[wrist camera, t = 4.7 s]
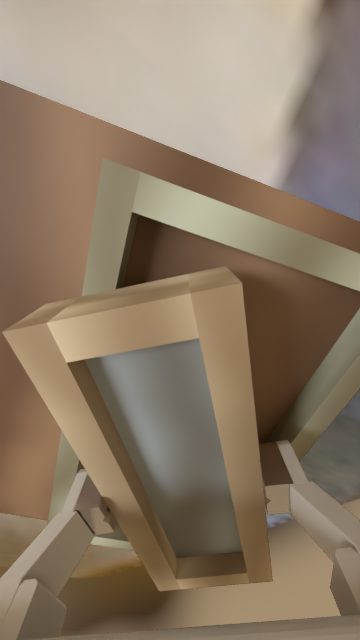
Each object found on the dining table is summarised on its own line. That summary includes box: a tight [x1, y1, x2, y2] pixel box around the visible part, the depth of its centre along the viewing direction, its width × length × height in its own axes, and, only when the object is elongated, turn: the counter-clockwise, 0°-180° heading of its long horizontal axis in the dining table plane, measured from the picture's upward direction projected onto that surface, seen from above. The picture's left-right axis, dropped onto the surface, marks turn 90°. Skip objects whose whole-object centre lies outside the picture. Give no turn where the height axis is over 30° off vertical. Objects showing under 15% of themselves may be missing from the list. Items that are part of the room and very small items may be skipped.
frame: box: [2, 266, 273, 591], centre depth 10 cm, size 6×16×2 cm, turn 12°
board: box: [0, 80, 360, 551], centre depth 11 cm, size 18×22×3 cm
